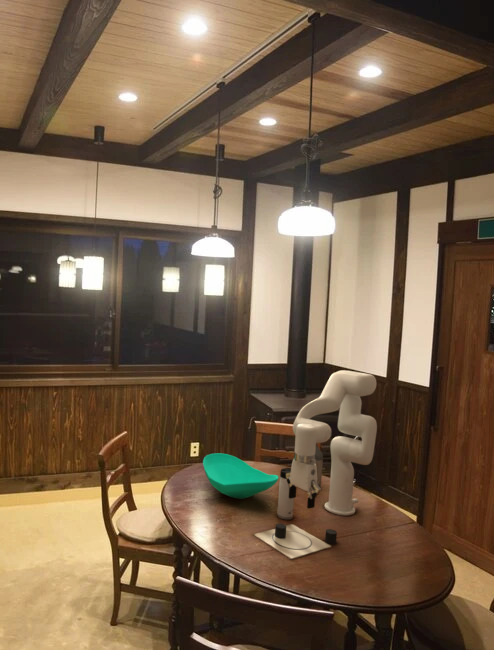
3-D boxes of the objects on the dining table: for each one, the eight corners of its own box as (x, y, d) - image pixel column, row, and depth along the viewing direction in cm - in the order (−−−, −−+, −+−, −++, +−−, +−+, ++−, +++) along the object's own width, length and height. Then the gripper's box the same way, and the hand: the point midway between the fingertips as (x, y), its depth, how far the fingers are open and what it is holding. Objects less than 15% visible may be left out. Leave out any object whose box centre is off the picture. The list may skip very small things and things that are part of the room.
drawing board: (292, 524, 213) (292, 523, 213) (331, 547, 196) (331, 545, 196) (253, 535, 202) (253, 533, 202) (291, 559, 185) (291, 558, 185)
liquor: (321, 490, 251) (326, 428, 249) (302, 489, 251) (306, 426, 249) (316, 483, 260) (321, 423, 258) (298, 482, 260) (302, 421, 259)
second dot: (330, 538, 203) (330, 528, 202) (338, 543, 199) (339, 532, 199) (322, 540, 201) (323, 530, 200) (330, 545, 197) (331, 534, 197)
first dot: (280, 533, 204) (281, 522, 203) (287, 537, 200) (288, 527, 200) (272, 535, 202) (273, 524, 201) (279, 539, 198) (280, 529, 198)
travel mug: (293, 520, 216) (297, 472, 215) (276, 518, 218) (280, 470, 216) (293, 514, 222) (296, 467, 221) (277, 512, 224) (280, 465, 223)
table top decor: (292, 505, 232) (294, 475, 231) (245, 518, 216) (247, 486, 215) (231, 476, 264) (233, 449, 263) (186, 485, 248) (188, 457, 247)
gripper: (329, 463, 193) (325, 510, 195) (295, 449, 208) (292, 492, 209) (314, 466, 190) (310, 513, 191) (280, 452, 204) (278, 495, 205)
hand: (301, 502), depth 200 cm, fingers open, 9 cm apart
